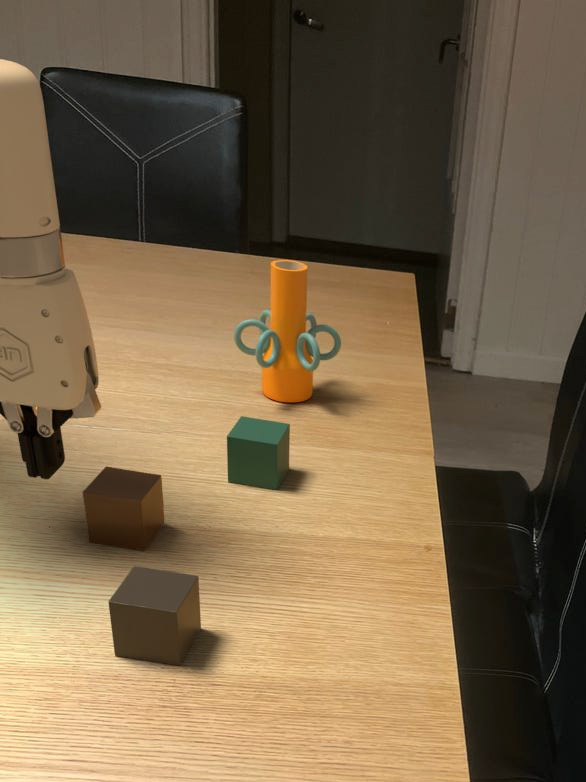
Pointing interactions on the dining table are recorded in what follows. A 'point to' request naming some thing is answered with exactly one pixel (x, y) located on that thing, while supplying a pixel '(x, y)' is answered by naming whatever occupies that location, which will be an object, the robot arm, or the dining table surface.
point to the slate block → (155, 615)
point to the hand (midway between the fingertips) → (45, 471)
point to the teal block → (258, 452)
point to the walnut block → (124, 508)
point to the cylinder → (287, 336)
